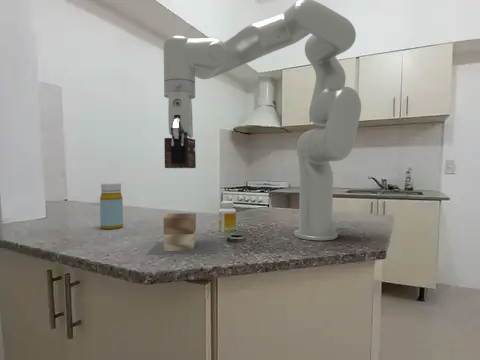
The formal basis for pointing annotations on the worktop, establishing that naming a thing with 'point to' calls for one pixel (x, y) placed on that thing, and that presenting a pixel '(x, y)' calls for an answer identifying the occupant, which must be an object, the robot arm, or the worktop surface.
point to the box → (189, 154)
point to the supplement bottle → (227, 217)
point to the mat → (200, 248)
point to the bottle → (111, 206)
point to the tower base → (180, 242)
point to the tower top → (179, 223)
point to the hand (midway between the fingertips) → (180, 163)
